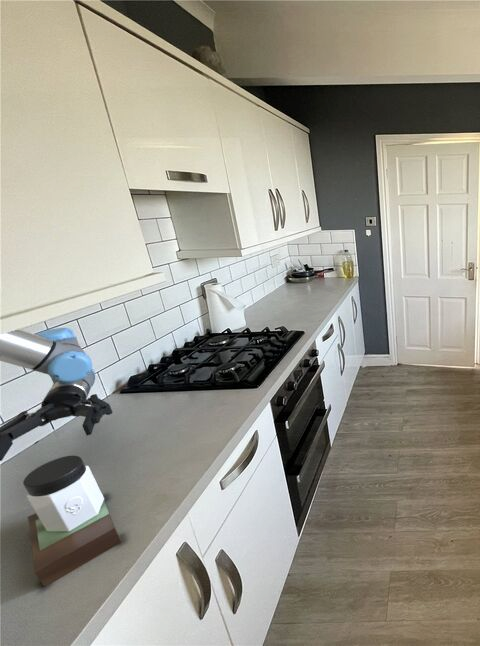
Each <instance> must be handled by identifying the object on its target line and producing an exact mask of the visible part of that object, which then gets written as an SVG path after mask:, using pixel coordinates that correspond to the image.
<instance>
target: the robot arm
mask: <svg viewBox="0 0 480 646" xmlns="http://www.w3.org/2000/svg"><path fill="white" fill-rule="evenodd" d="M18 329H19V330H15V331H11V332H8V333H4V334H0V362H3V363H7V364H10V365H14V366H18V367H21V368H25V369H27V370H32V371H35V372H38V373H42V374H45V375H47V376H49V378H50V379H51V381H52V386H51V387H50V388H49V390H48V391H47V393H46V394H45V396H44V398H43V400H42V402H41V405H40V408H38V409H37V410H36V411H34V412H28V410H25V411H24V410H23V411H21V412H20V413H18V414H17V415H16V416H15V417H13V418H12V419H10V420H9V421H7V422H5V423H4V424H3V425H1V426H0V462H2V461H3V459H4V458H5V456H6V455H7V453H8V452H9V450H10V449H11V447H12V446H13V444H14V442H13V441H15V440H17V439H18V438H21V437H22V436H24V435H25V434H27V433H29V432H31V431H33V430H35V429H36V428H38V427H45V426H46V425H48V424H49V423H52V422H53V421H57V420H59V419H64V418H71V417H76V418H78V417H85V418H84V420H83V423H82V428H83V431H84V433H85V435H86V437H88V436H91V435H92V433H93V431H94V428H95V425H96V424H100V421H101V419H102V418H103V416H105V415H106V416H110V415H112V414H113V409H112V407H111V405H110V403H108V402H106V401H105V400H103V399H101V398H100V397H98V395H97V393H94V394H91V395H90V391H91V389H92V387H94V384H95V381H96V371H95V370H94V368H93V363H92V359H91V357H90V355H88V354H87V353H86V352H85V350H84V349H83V348H82V347H81V345H80V343H79V341H78V338H77V335H75V332H74V331H73V330H72V328H69V327H56V328H50V329H47V330H44V331H40V332H38V333H36V334H35V333H32V332H29V331H26V330H23V329H20V328H18ZM89 395H90V396H89ZM88 396H89V397H88Z"/></svg>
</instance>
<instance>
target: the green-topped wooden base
mask: <svg viewBox="0 0 480 646" xmlns="http://www.w3.org/2000/svg"><path fill="white" fill-rule="evenodd" d="M97 485H98V487H99V489H100V491H101V493H102V495H103V497H104V501H103V503H102V506H101V508H100V511H99V513H98V515H96V516H95V517H93V518H91V519H89V520H88V521H86V522H84V523H83V524H81V525H79V526H78V527H76V528H74V529H73V530H71V531H69V532H47V531H46V529H45V527H44V526H43V524H42V522H41V521H40V519H39V517H38V516H37V514H36V512H34V513H33V514H30V515H29V516H27V522H28V529H29V530H28V531H29V536H30V537H29V538H30V546H31V553H32V560H33V569H34V574H35V575H36V577H37V578H38V580H39V581H40V583H41V584H42V585H43V588H46V587H48V586H50V585H51V584H53V583H54V582H56V581H58V580H59V579H61V578H63V577H65V576H66V575H68V574H70V573H71V572H74V571H75V570H77V569H78V568H81V567H82V566H84V565H86V564H87V563H88V562H90V561H92V560H94V559H96V558H97V557H99V556H100V555H102V554H104V553H106V552H107V551H110V550H111V549H112V548H114V547H117V546H118V545H119V544H121V543H122V539H121V536H120V535H119V533H118V531H117V528H116V526H115V524H114V521H113V519H112V516H111V513H110V511H109V508H108V505H107V504H106V499H105V496H104V494H103V492H102V490H101V488H100V486H99V484H98V483H97Z"/></svg>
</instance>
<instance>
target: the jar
mask: <svg viewBox="0 0 480 646" xmlns="http://www.w3.org/2000/svg"><path fill="white" fill-rule="evenodd" d="M22 484H23V486H24V488H25V489H26V491H27V493H28V494H27V495H26V499H27V500H28V503H29V504H30V505H31V507H32V509H33V511H34V513H36V514H37V516H38V517H39V519H40V521H41V522H42V524H43V526H44V527H45V529H46V531H47V532H69V531H71V530H73V529H74V528H76V527H78V526H79V525H81V524H83V523H84V522H86V521H88V520H89V519H91V518H93V517H95V516H96V515H98V513H99V511H100V508H101V506H102V503H103V501H104V499H105V496H104V494H103V492H102V490H101V488H100V486H99V484H98V483H97V480H96V479H95V476H94V475H93V472H92V470H91V468H90V466H89V465H86V464H85V463H84V460H83V459H82V457H81V456H79V455H67V456H61V457H59V458H55V459H53V460H50V461H48V462H46V463H43V464H42V465H40V466H38V467H36V468H35V469H33V470H32V471H31V472H29V473H28V474H27V475H26V476H25V477H24V479H23V481H22ZM97 484H98V485H97ZM98 486H99V487H98ZM99 488H100V489H99ZM100 490H101V491H100ZM101 492H102V493H101ZM102 494H103V495H102ZM103 496H104V497H103Z"/></svg>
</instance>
